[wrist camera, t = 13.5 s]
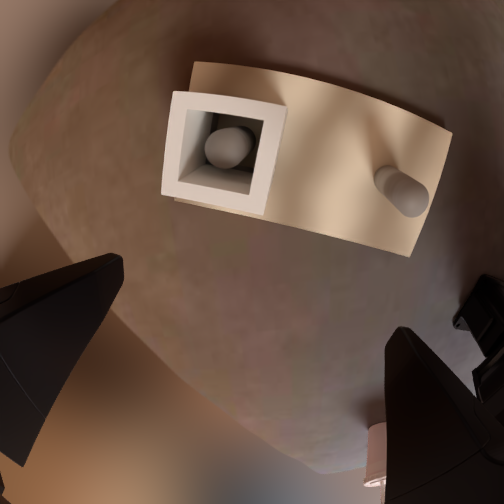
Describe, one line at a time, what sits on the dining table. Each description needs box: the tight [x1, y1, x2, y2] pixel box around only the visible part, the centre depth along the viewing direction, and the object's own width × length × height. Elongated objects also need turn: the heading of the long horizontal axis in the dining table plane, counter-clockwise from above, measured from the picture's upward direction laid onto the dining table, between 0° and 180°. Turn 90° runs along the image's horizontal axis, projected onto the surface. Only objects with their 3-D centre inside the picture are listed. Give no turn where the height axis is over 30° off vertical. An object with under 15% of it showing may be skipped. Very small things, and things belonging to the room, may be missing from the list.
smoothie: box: [363, 422, 387, 504], centre depth 27 cm, size 6×6×14 cm
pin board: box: [174, 61, 453, 257], centre depth 15 cm, size 18×10×6 cm, turn 79°
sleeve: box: [161, 91, 288, 216], centre depth 14 cm, size 5×5×6 cm
